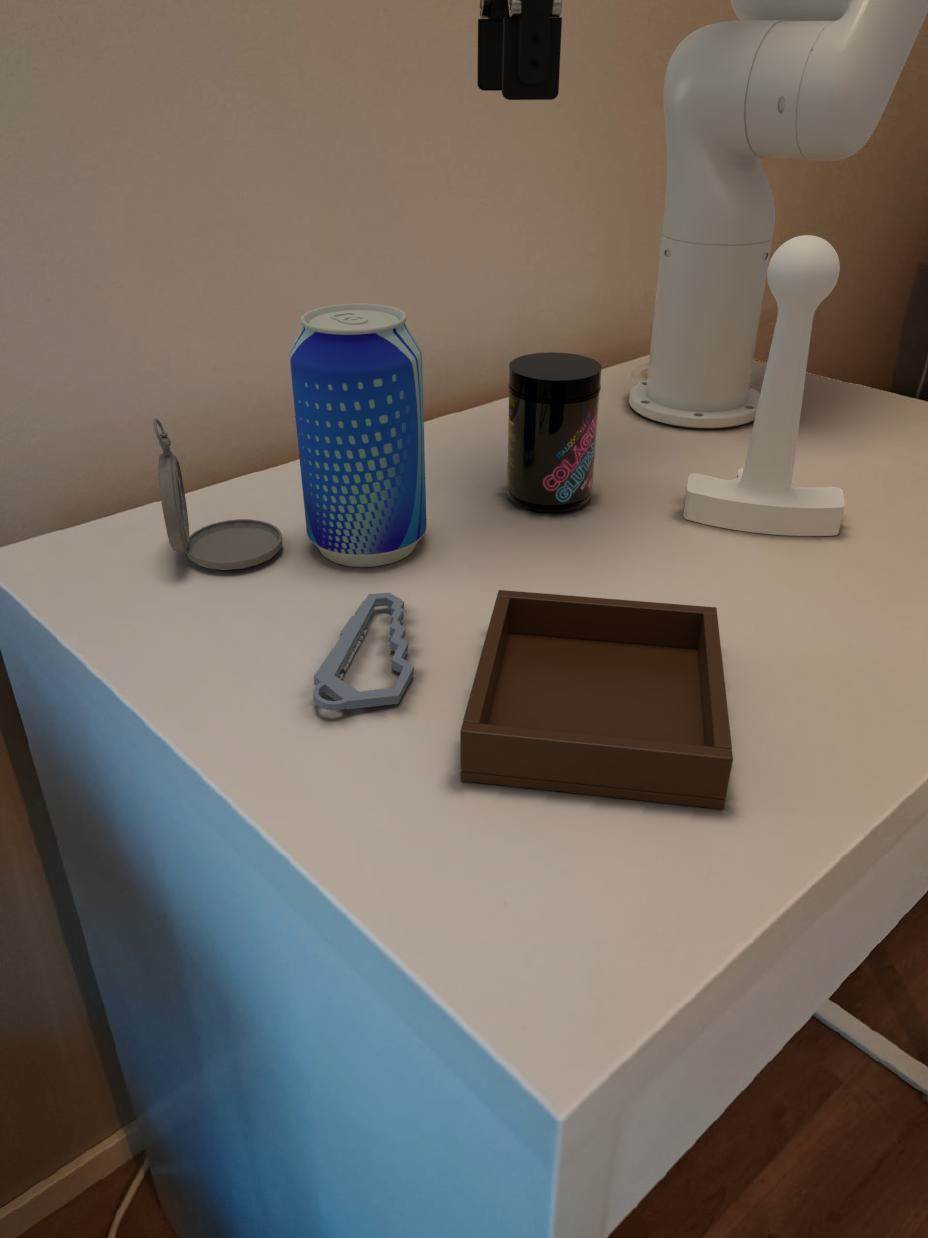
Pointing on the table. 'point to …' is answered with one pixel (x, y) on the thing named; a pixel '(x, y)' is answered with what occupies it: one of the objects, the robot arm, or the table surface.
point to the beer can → (360, 432)
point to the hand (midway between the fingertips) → (514, 94)
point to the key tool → (343, 655)
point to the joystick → (778, 415)
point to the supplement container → (552, 430)
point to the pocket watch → (215, 542)
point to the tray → (600, 700)
